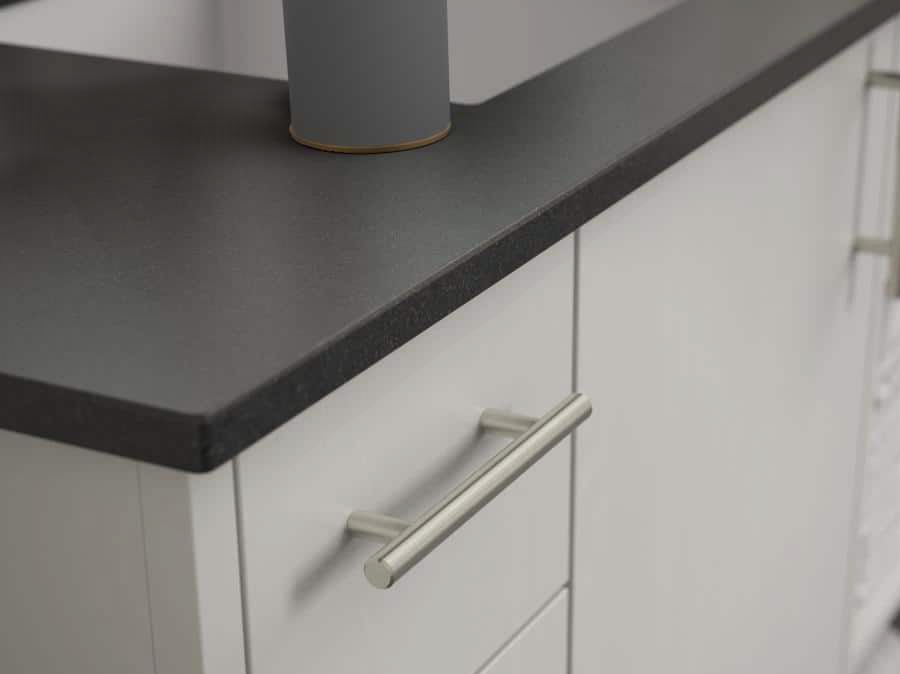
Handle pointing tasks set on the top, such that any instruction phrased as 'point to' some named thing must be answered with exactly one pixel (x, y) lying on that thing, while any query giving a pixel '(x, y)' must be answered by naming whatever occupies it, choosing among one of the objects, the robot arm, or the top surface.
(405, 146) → the cork coaster
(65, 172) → the top surface
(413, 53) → the cup
